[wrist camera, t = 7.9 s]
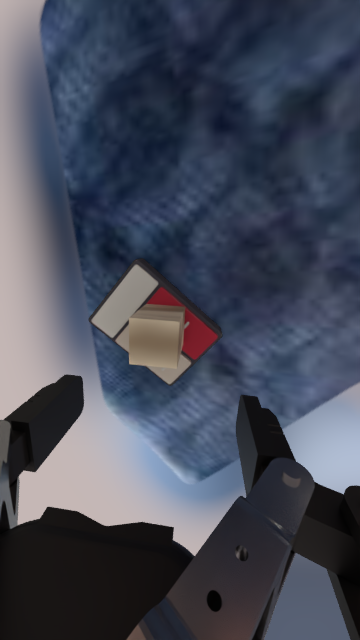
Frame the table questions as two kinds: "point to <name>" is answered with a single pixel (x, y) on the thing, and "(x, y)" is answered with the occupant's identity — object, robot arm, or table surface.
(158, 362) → the maple block
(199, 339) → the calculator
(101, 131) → the table surface
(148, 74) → the table surface
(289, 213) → the table surface
